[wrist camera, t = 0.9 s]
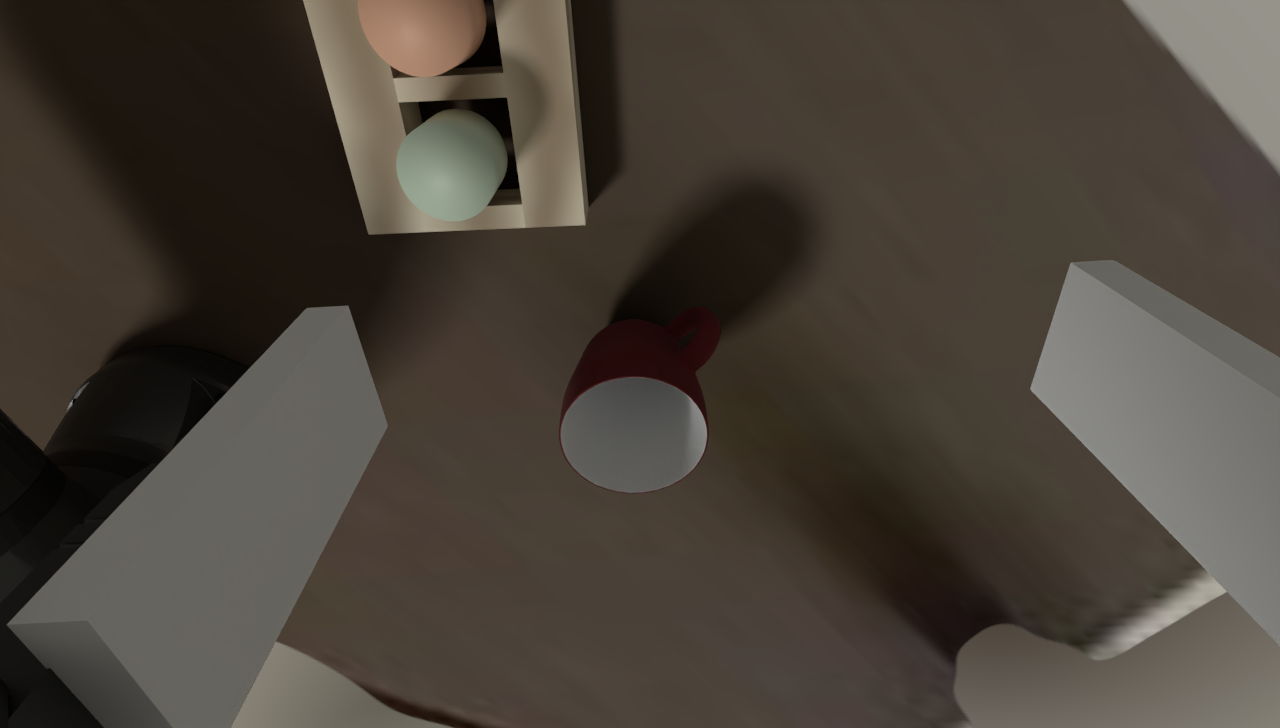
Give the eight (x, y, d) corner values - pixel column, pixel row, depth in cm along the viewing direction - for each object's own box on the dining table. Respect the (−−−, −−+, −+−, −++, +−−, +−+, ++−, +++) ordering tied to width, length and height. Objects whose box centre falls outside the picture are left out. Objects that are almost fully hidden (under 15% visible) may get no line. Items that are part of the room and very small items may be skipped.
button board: (386, 216, 38) (368, 234, 35) (260, -271, 27) (220, -297, 24) (588, 207, 38) (585, 225, 35) (545, -287, 26) (536, -314, 24)
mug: (645, 235, 38) (649, 310, 30) (744, 307, 41) (773, 395, 33) (549, 354, 43) (529, 450, 34) (644, 413, 45) (647, 515, 37)
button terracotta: (399, 68, 31) (374, 79, 28) (374, -44, 28) (344, -46, 25) (494, 64, 31) (479, 74, 28) (477, -50, 28) (458, -52, 25)
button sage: (428, 201, 34) (408, 223, 31) (408, 110, 32) (385, 125, 29) (513, 197, 34) (502, 219, 31) (500, 106, 32) (486, 120, 29)
